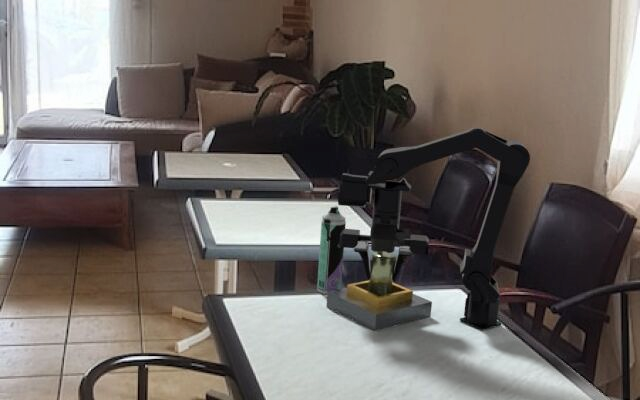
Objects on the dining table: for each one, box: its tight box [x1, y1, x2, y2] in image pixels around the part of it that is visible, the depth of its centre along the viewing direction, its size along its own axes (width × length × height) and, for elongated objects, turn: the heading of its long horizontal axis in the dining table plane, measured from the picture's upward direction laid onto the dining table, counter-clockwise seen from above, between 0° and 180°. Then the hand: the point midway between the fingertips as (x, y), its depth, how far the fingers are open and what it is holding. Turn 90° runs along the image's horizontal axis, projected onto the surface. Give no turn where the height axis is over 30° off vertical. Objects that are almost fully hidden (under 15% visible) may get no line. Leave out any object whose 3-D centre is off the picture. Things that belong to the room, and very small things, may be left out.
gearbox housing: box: [326, 279, 433, 331], centre depth 176 cm, size 18×16×6 cm
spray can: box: [316, 206, 346, 295], centre depth 185 cm, size 6×6×20 cm
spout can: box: [368, 251, 397, 295], centre depth 174 cm, size 5×5×10 cm
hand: (381, 279), depth 174 cm, fingers closed on spout can, 5 cm apart
